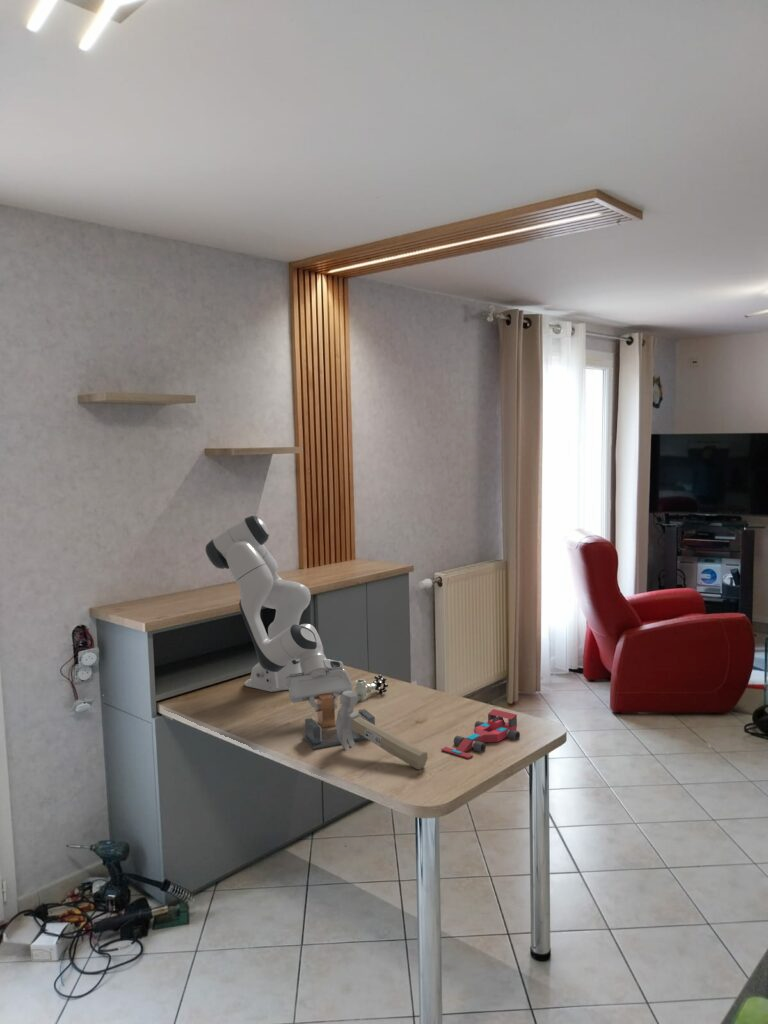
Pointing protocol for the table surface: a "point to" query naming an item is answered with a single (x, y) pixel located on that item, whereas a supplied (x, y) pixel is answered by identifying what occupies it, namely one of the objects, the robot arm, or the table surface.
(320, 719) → the wooden rectangular block
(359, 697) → the valve
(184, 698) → the table surface
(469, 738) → the race car
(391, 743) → the hammer
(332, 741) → the vise jaws
